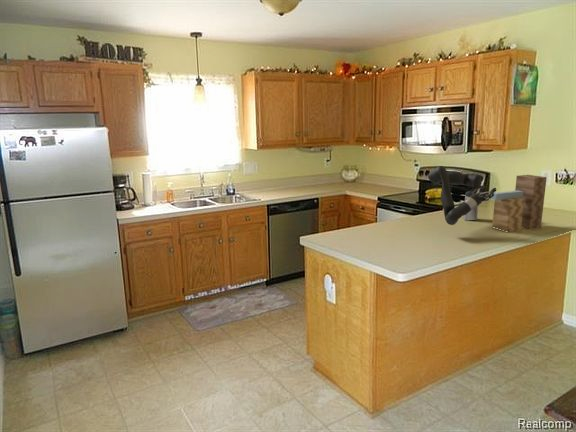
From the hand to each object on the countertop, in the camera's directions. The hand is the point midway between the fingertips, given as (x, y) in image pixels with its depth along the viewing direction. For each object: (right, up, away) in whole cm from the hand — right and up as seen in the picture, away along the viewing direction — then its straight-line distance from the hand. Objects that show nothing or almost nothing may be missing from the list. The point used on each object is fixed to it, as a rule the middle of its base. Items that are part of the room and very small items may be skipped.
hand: (490, 187), depth 265 cm
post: (+33, -25, +17) cm, 45 cm away
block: (+16, -27, +12) cm, 34 cm away
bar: (+14, -6, +7) cm, 17 cm away
